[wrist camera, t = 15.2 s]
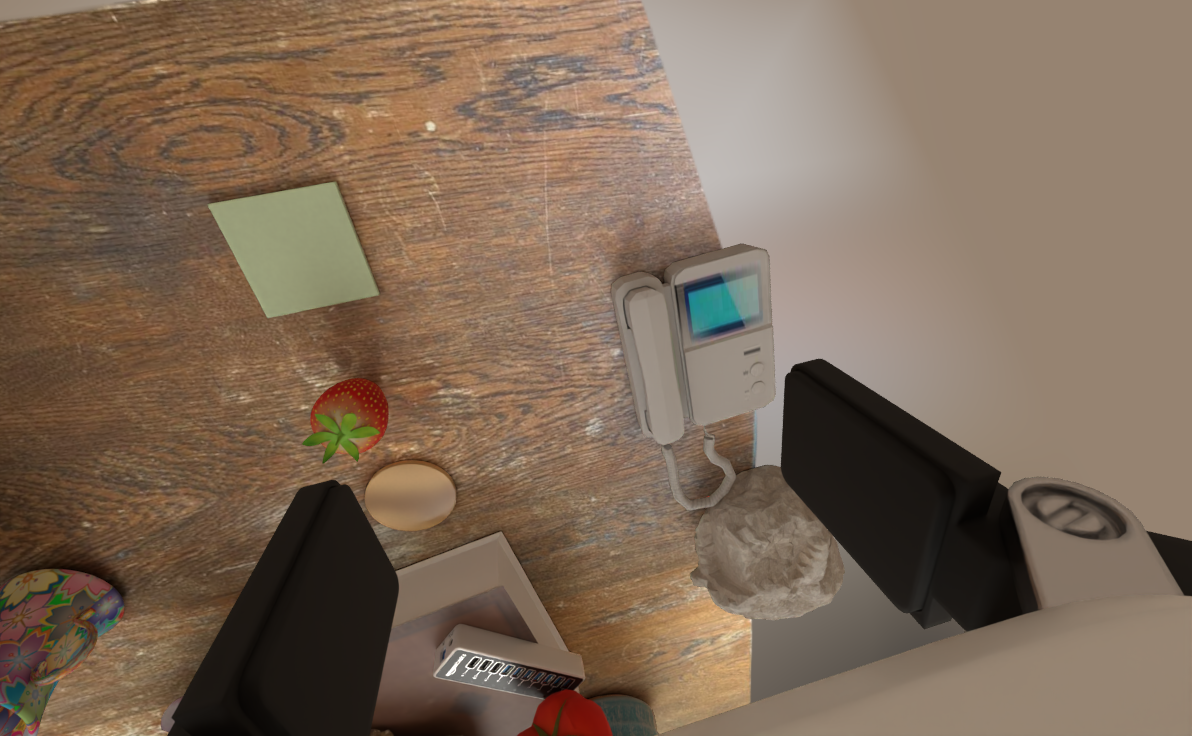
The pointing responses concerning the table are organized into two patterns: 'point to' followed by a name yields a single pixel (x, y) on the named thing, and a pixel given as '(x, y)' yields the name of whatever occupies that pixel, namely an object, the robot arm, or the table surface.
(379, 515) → the coaster
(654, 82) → the table surface
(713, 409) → the intercom
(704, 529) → the stone
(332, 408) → the fruit
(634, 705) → the vase
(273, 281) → the napkin
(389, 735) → the rock
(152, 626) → the table surface
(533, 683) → the multiport hub
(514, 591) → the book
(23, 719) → the mug
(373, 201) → the table surface
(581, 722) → the tomato
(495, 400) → the table surface
